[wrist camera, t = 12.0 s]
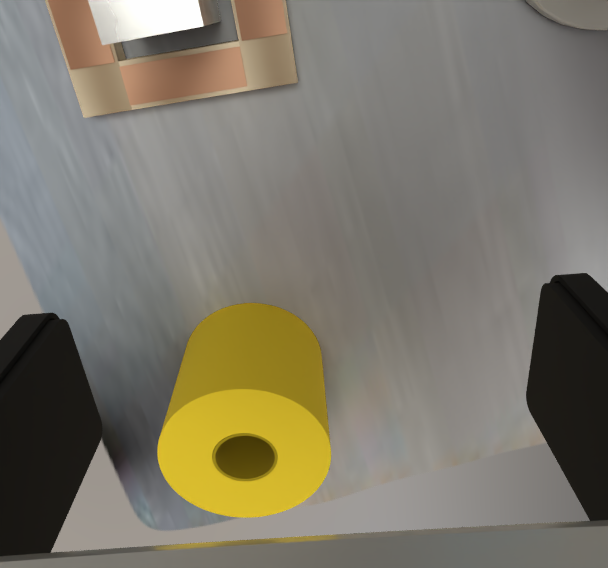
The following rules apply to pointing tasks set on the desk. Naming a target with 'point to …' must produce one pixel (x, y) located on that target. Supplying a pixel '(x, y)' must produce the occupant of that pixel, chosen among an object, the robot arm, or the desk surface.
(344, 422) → the desk surface
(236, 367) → the tape roll
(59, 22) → the hole rail
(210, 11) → the steel block
